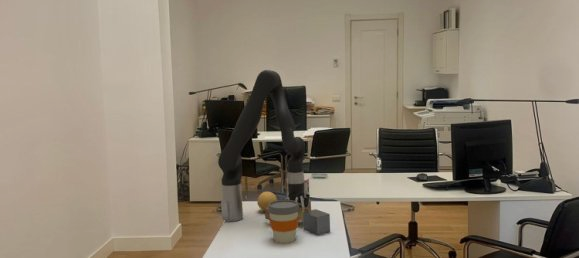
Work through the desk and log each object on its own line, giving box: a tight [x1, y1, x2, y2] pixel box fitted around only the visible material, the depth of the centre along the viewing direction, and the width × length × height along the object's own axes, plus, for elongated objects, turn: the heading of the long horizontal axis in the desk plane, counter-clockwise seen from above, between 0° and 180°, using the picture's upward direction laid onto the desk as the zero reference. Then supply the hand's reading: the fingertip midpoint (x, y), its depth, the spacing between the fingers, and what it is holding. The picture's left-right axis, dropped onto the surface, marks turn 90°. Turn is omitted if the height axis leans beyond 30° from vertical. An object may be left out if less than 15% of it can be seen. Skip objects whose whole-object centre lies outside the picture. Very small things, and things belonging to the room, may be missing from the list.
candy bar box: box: [285, 177, 310, 200], centre depth 230 cm, size 11×5×16 cm, turn 84°
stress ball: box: [256, 191, 278, 212], centre depth 233 cm, size 10×10×10 cm
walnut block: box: [264, 199, 312, 221], centre depth 218 cm, size 23×4×8 cm, turn 125°
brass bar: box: [298, 207, 310, 223], centre depth 211 cm, size 4×21×4 cm, turn 35°
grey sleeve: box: [303, 208, 331, 237], centre depth 201 cm, size 7×10×8 cm
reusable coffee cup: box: [268, 199, 299, 244], centre depth 193 cm, size 13×13×15 cm
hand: (297, 217), depth 213 cm, fingers closed on brass bar, 4 cm apart
